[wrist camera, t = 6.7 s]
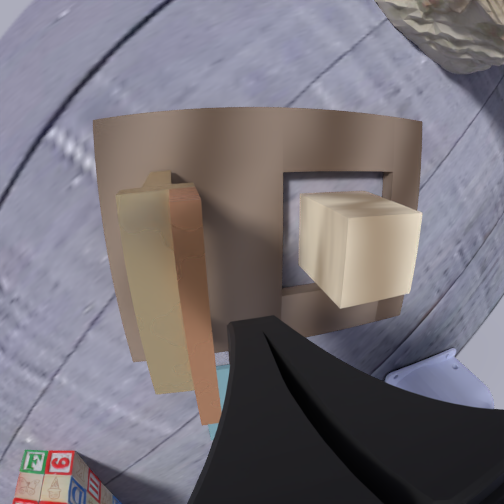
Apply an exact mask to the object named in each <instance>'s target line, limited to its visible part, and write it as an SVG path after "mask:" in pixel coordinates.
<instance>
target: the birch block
mask: <svg viewBox="0 0 504 504" xmlns="http://www.w3.org/2000/svg"><path fill="white" fill-rule="evenodd" d="M421 221H422V213H421V212H419V211H416V210H414V209H411V208H409V207H406V206H404V205H401V204H398V203H396V202H393V201H390V200H388V199H385V198H382V197H380V196H377V195H374V194H371V193H369V192H366V191H348V192H323V193H303V194H300V225H299V263H298V265H299V266H300V267H301V268H302V269H303V270H304V271H305V272H306V273H307V274H308V275H309V276H310V277H311V279H312V280H313V281H314V282H315V283H316V284H317V285H318V286H319V287H320V288H321V289H322V290H323V291H324V292H325V293H326V294H327V295H328V296H329V297H330V298H331V300H332V301H333V302H334V303H335V304H336V305H337V306H338V307H339V308H340V309H341V308H346V307H351V306H355V305H360V304H365V303H369V302H374V301H378V300H383V299H387V298H391V297H395V296H400V295H404V294H408V293H410V289H411V284H412V279H413V274H414V268H415V262H416V256H417V250H418V243H419V236H420V229H421Z"/></svg>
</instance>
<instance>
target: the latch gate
mask: <svg viewBox="0 0 504 504" xmlns="http://www.w3.org/2000/svg"><path fill="white" fill-rule="evenodd" d="M115 196H116V204H117V213H118V220H119V227H120V234H121V241H122V247H123V254H124V260H125V265H126V271H127V276H128V282H129V287H130V292H131V297H132V302H133V307H134V311H135V316H136V320H137V325H138V329H139V333H140V337H141V341H142V345H143V349H144V353H145V357H146V361H147V365H148V368H149V372H150V376H151V379H152V383H153V386H154V389H155V393H156V394H166V393H175V392H184V391H192V390H195V394H196V399H197V404H198V409H199V414H200V419H201V423H202V425H208V424H215V423H219V420H220V417H221V413H222V412H221V404H220V396H219V388H218V380H217V372H216V363H215V354H214V345H213V336H212V327H211V317H210V306H209V296H208V285H207V273H206V261H205V248H204V235H203V220H202V205H201V198H200V196H199V194H198V192H197V190H196V188H195V186H194V183H193V182H191V183H180V184H172V181H171V170H166V171H156V172H150V173H149V175H148V177H147V179H146V180H145V182H144V184H143V186H142V187H141V188H133V189H125V190H120V191H119V192H118V193H117V194H116V195H115Z"/></svg>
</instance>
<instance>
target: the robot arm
mask: <svg viewBox="0 0 504 504" xmlns="http://www.w3.org/2000/svg"><path fill="white" fill-rule="evenodd" d="M227 337H228V350H229V362H230V370H229V377H228V383H227V389H226V395H225V400H224V404H223V409H222V413H221V417H220V420H219V424H218V427H217V431H216V434H215V437H214V440H213V443H212V446H211V449H210V452H209V454H208V457H207V460H206V462H205V465H204V467H203V470H202V472H201V474H200V476H199V479H198V481H197V483H196V485H195V488H194V490H193V492H192V494H191V497H190V499H189V501H188V503H187V504H504V410H499V409H494V401H493V397H492V394H491V392H490V390H489V389H488V387H487V386H486V385H485V384H484V383H483V382H482V381H481V380H480V379H479V378H477V377H476V376H475V375H474V374H473V373H472V372H471V371H470V370H469V369H467V368H466V367H465V366H464V365H463V364H462V363H461V362H460V361H459V360H458V359H456V358H455V357H454V356H455V353H456V349H455V348H451V349H449V350H447V351H444V352H442V353H440V354H437V355H435V356H432V357H430V358H428V359H425V360H423V361H420V362H418V363H415V364H412V365H410V366H407V367H404V368H402V369H399V370H396V371H393V372H391V373H389V374H388V375H387V376H386V378H385V382H384V381H381V380H379V379H377V378H374V377H372V376H370V375H368V374H366V373H364V372H362V371H360V370H358V369H356V368H354V367H352V366H350V365H348V364H347V363H345V362H343V361H341V360H339V359H338V358H336V357H334V356H333V355H331V354H329V353H328V352H326V351H325V350H323V349H321V348H320V347H318V346H317V345H315V344H314V343H312V342H311V341H309V340H308V339H307V338H305V337H304V336H302V335H301V334H299V333H298V332H297V331H295V330H294V329H292V328H291V327H290V326H288V325H287V324H286V323H284V322H283V321H281V320H280V319H279V318H277V317H276V316H274V315H271V316H265V317H258V318H252V319H245V320H238V321H231V322H230V323H229V324H228V325H227Z"/></svg>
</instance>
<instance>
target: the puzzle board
mask: <svg viewBox="0 0 504 504" xmlns="http://www.w3.org/2000/svg"><path fill="white" fill-rule="evenodd" d="M93 134H94V149H95V162H96V173H97V183H98V191H99V200H100V208H101V215H102V222H103V228H104V235H105V241H106V247H107V253H108V258H109V263H110V269H111V274H112V279H113V283H114V288H115V293H116V297H117V302H118V306H119V310H120V314H121V319H122V323H123V327H124V330H125V334H126V338H127V342H128V345H129V349H130V353H131V356H132V360H133V362H140V361H146V357H145V353H144V349H143V345H142V341H141V337H140V333H139V329H138V325H137V320H136V316H135V311H134V307H133V302H132V297H131V292H130V287H129V282H128V276H127V271H126V265H125V260H124V254H123V247H122V241H121V234H120V227H119V220H118V213H117V204H116V196H115V195H116V194H117V193H118V192H119V191H120V190H125V189H133V188H141V187H142V186H143V184H144V182H145V180H146V179H147V177H148V175H149V173H150V172H156V171H166V170H171V181H172V184H180V183H191V182H193V183H194V186H195V188H196V190H197V192H198V194H199V196H200V198H201V205H202V220H203V235H204V248H205V261H206V273H207V285H208V296H209V306H210V317H211V327H212V336H213V345H214V353H218V352H225V351H229V350H228V337H227V325H228V324H229V323H230V322H231V321H238V320H245V319H252V318H258V317H265V316H271V315H274V316H276V317H277V318H279V319H280V320H281V321H283V322H284V323H286V324H287V325H288V326H290V327H291V328H292V329H294V330H295V331H297V332H298V333H299V334H301V335H302V336H304V337H310V336H315V335H319V334H324V333H329V332H333V331H338V330H342V329H346V328H351V327H355V326H359V325H363V324H367V323H371V322H375V321H379V320H383V319H387V318H391V317H394V316H398V315H400V312H401V307H402V303H403V298H404V295H400V296H395V297H391V298H387V299H383V300H378V301H374V302H369V303H365V304H360V305H355V306H351V307H346V308H341V309H340V308H339V307H338V306H337V305H336V304H335V303H334V302H333V301H332V300H331V298H330V297H329V296H328V295H327V294H326V293H325V292H324V291H323V290H322V289H321V288H320V287H319V286H318V285H317V284H316V283H312V284H305V285H299V286H292V287H285V288H282V258H283V172H308V171H382V172H384V174H383V191H382V198H385V199H388V200H390V201H393V202H396V203H398V204H401V205H404V206H406V207H409V208H411V209H414V210H416V211H417V207H418V196H419V185H420V171H421V151H422V121H416V120H410V119H404V118H397V117H390V116H383V115H375V114H366V113H357V112H347V111H336V110H323V109H306V108H281V107H226V108H201V109H184V110H171V111H160V112H149V113H140V114H132V115H124V116H117V117H110V118H103V119H97V120H93Z"/></svg>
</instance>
